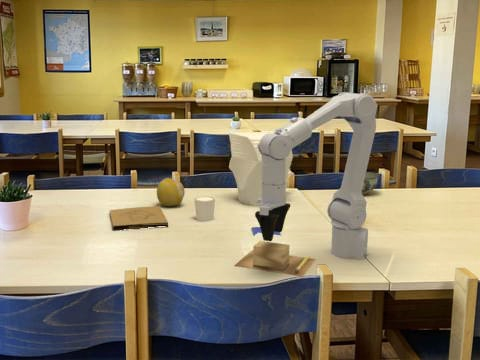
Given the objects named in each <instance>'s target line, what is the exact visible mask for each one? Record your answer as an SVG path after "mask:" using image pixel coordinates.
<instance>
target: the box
mask: <svg viewBox="0 0 480 360" xmlns="http://www.w3.org/2000/svg"><path fill="white" fill-rule="evenodd" d="M109 215H110V223H111V228H112V231H113V232H117V231H120V230H121V231H125V230H124V229H134V230H141V229H140V228H148V227H155V228H157V227H156V226H167V227H166V228H169V221H168V219H167V217H166V216H165V214H164V212H163V210H162V208H161V206H160V205H157V206H156V205H154V206H153V205H151V206H150V205H149V206H139V207H137V206H136V207H127V208H126V207H124V208H118V209H109Z"/></svg>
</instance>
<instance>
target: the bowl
mask: <svg viewBox="0 0 480 360" xmlns="http://www.w3.org/2000/svg"><path fill="white" fill-rule="evenodd" d="M379 177H380V175H379V174H378V173H376V172H370V171H366V174H365V179H364V183H363V188H362V192H361V193H362V195H363V196H368V195H369V193H370V192H372V191H373V190H374V189H375V188H376V186H377V184H378V180H379Z"/></svg>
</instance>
